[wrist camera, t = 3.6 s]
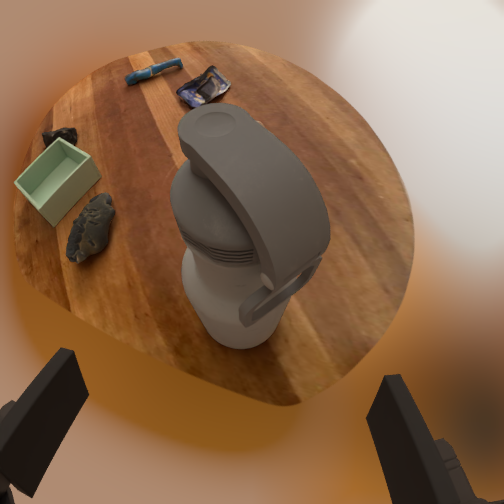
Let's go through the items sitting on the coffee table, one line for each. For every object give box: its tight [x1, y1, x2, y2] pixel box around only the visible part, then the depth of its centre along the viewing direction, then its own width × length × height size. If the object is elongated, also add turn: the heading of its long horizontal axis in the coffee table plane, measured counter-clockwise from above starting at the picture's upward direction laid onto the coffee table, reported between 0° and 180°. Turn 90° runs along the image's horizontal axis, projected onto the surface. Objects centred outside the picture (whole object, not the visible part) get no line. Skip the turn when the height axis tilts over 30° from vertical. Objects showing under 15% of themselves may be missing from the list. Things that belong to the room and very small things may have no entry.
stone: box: [66, 193, 115, 264], centre depth 40 cm, size 7×13×5 cm, turn 174°
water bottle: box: [170, 103, 330, 349], centre depth 25 cm, size 10×10×28 cm
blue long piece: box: [125, 58, 183, 85], centre depth 62 cm, size 5×4×15 cm
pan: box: [14, 137, 102, 227], centre depth 44 cm, size 13×13×6 cm
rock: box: [42, 128, 77, 148], centre depth 50 cm, size 7×10×6 cm
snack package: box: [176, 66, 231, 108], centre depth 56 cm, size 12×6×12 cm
